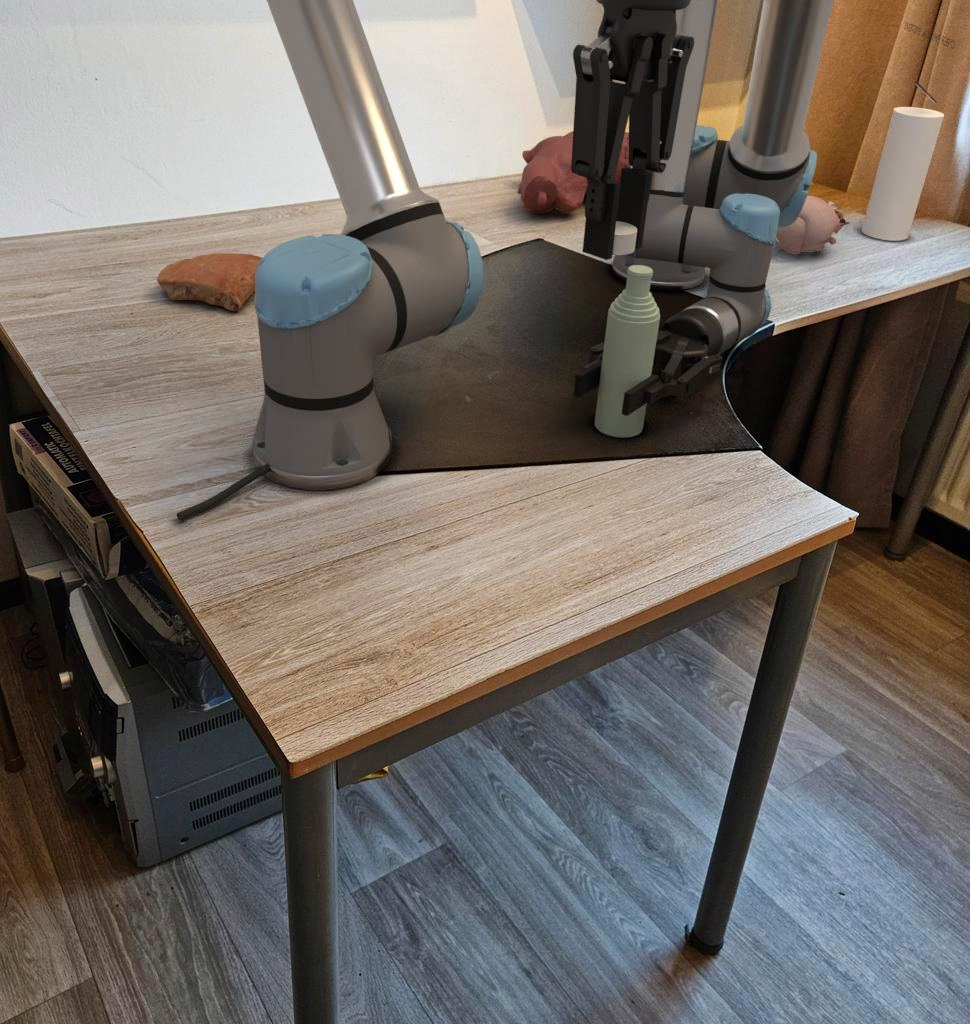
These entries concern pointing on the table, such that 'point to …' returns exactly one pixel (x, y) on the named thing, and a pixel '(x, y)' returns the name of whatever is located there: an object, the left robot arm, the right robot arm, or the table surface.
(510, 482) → the table surface
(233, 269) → the ceramic shard
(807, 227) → the toy
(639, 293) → the bottle
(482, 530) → the table surface
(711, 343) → the right robot arm
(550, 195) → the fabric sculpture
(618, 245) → the cap
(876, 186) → the tall white cylinder
